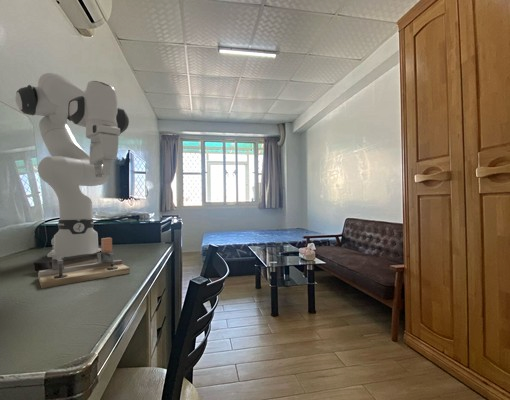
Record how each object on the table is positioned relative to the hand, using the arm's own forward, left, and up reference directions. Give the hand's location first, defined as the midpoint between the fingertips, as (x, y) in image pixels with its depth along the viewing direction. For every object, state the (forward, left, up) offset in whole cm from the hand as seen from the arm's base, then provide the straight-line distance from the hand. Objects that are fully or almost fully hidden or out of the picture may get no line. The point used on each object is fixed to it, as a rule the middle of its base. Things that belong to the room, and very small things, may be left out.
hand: (102, 176), depth 85 cm
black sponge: (-8, -8, -30) cm, 32 cm away
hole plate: (+8, -6, -29) cm, 31 cm away
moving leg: (+8, 0, -27) cm, 28 cm away
